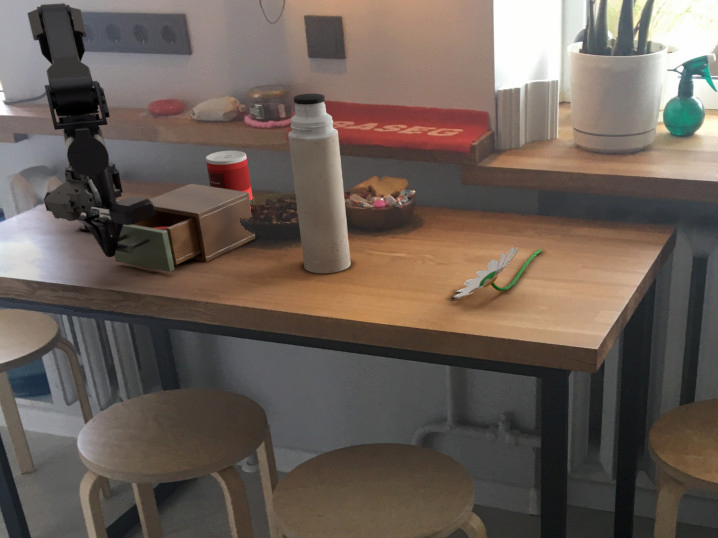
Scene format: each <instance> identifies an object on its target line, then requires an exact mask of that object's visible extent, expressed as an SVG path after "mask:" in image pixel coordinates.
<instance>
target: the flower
mask: <svg viewBox="0 0 718 538" xmlns="http://www.w3.org/2000/svg"><path fill="white" fill-rule="evenodd" d="M518 250H519V247H518V246H517V247H511V248H510V249H509V250H508V253H506V252H502V253H501V254H500V256H499V260H498V259H495V258H494V259H491V260H490V261H489V262H488V263H487V264H486V267H487V269H481V270H480V269H479V270H477V271H476V272H475V274H476V276H477V277H474V278H470V279H467V280H465V282H464V283H463V285H464V286H466V287H463V288H461V289H458V290H455V293H456V292H457V293H458V294H455V295H452V302H453V301H455V300H460V299H463V298H465V297H467V296H470V295H471V294H474V293H476V292H477V291H479V290H480V289H482V288H483V289H484V288H488V287H489V286H491V287H492V288H493V289H495V290H496V291H499V292H505V291H508V290H510V289H511V288H513V287H514V285H516V283H517V281H518V280H519V278H520V277H521V275H522V274H523V272H525V270H526V268H527V267H528V265H529V264H530V263H531V261H532V260H533V259H534V258H535V257H537V255H539V254H540V253H542V248H539V249H537V250H536V251H534V253H532V254H531V255H530V256H529V258H527V260H526V261H525V262H524V263H523V265H522V267H521V268H520V269H519V271H518V273H517V274H516V275H515V276H514V279H512V280H511V282H510V283H509V284H508V285H506V286H504V287H500V286H498V285H497V284H495V281H497V279H498V277H499V275H500V274H501V273H502V272H503V271H504V270H505V269H506V268H507V267H508V266H509V265H510V263H511V261H512V260H513V259H514V258H515V257H516V254H517V253H518Z"/></svg>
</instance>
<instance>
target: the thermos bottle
mask: <svg viewBox="0 0 718 538" xmlns="http://www.w3.org/2000/svg"><path fill="white" fill-rule="evenodd" d="M325 97H326V96H325V95H324V94H321V93H301V94H297V95H295V96H293V103H294V104H295V105H294V112H295V113H294V115H292V117H291V118H290V128H291V131H289V132H288V145H289V153H290V161H291V169H292V170H291V171H292V176H293V185H294V186H293V187H294V193H295V194H294V195H295V202H296V211H297V217H298V226H299V227H298V228H299V236H300V243H301V244H300V245H301V250H302V259H303V267H304V269H305V270H306V271H308V272H310V273H314V274H332V273H338V272H342V271H345V270H346V269H348V268H349V267H350V266H351V254H350V245H349V233H348V222H347V215H346V214H347V213H346V202H345V192H344V191H345V190H344V180H343V171H342V162H341V161H342V160H341V151H340V140H339V131H338V129H336V128H334V120H333V116H332V115H331V114H329V113H327V109H326V103H325V102H326V98H325Z"/></svg>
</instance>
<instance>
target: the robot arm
mask: <svg viewBox="0 0 718 538" xmlns="http://www.w3.org/2000/svg"><path fill="white" fill-rule="evenodd" d="M27 18H28V22H29V26H30V31H31V35H32V39H33V41H38V44H39V48H40V52H41V55H42V56H43V57H44V58H45V59H46V60H47V62H48V63H50V64H51V65H50V66H49V67H48V68H47V69H46V75H47V79H48V80H47V81H48V84H44V89H45V94H46V98H47V103H48V107H49V111H50V115H51V120H52V124H53V129H54V131H58V130H62V132H61V133H62V136H63V140H64V141H63V142H64V145H65V150H66V157H67V163H68V166H66V167H65V172H64V177H65V181H64V182H63V183H62V184H60V185H58V186H57V187H56V188H55V189H52V190H49V191H47V192H46V193H45V195H44V198H43V203H44V206H45V209H46V212H50V213H51V214H52V215H53V217H54V218H55V219H57V220H59V219H62V220H66V221H67V222H74V221H77V222H79V223H81V224H83V225H81V226H79V227H78V230H79V231H82V232H91V234H92V235H93V238H94V239H95V240H96V242H97V244H98V245H99V247H100V249H101V250H102V252H103V254H104V255H105V257H106V258H113V257H115V256H114V255H115V252H116V248H117V244H118V240H119V237H120V233H121V230H122V227H123V225H133V224H135V223H138V222H140V221H143V220H145V219H148V218H150V217H153V216H155V210H154V205H153V202H151V201H150V200H149V199H150V198H147V197H141V196H134V195H131V196H128V197H126V198H123V199H119V200H117V199H118V198H120V197H122V193H123V187H122V183H121V182H122V181H121V176H120V171H119V169H118V168H117V167H116V163H113V161H109V160H110V158H109V152H108V149H107V146H106V143H105V140H104V135H103V130H102V127H101V126H108V120H107V119H108V118H111V116H110V111H109V108H108V107H109V106H108V103H107V98H106V94H105V90H104V88H103V87H102V86H101V85H100V82H98V80H93V76H92V73H91V68H90V66H88V65H86V64H85V63H83V62H82V59H83V57H84V55H85V52H86V48H85V44H84V39H83V38H87V30H86V26H85V22H84V17H83V13H82V9H81V8H76V7H72V6H70V4H66V3H65V2H62V3H61V2H59V3H44V4H40V5H39V6H36V9H33V10H32V11H30V12H27ZM99 112H100V114H99ZM100 115H101V116H100ZM56 116H57V117H58V120H57V117H56Z"/></svg>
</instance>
